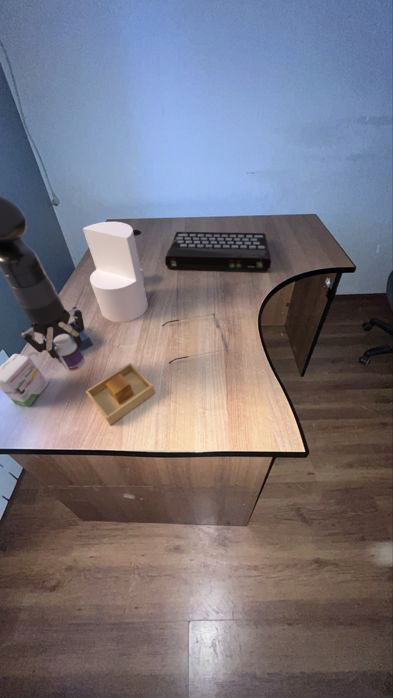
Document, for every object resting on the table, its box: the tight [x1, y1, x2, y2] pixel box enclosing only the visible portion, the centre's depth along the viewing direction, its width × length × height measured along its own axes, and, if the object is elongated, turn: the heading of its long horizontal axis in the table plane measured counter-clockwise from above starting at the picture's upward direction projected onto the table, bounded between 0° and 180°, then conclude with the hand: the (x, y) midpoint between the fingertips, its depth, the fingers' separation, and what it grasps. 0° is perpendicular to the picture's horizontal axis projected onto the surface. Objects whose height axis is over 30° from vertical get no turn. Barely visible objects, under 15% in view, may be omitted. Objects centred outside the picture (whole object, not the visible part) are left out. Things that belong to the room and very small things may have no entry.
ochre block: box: [106, 374, 134, 404], centre depth 71 cm, size 5×5×5 cm
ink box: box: [0, 353, 49, 408], centre depth 70 cm, size 8×5×12 cm, turn 164°
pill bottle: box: [53, 334, 86, 372], centre depth 69 cm, size 5×5×10 cm
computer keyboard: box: [164, 231, 272, 273], centre depth 123 cm, size 45×28×7 cm, turn 84°
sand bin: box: [85, 362, 156, 426], centre depth 72 cm, size 14×11×4 cm
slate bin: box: [41, 320, 94, 364], centre depth 86 cm, size 11×11×4 cm
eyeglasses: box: [161, 312, 229, 364], centre depth 86 cm, size 18×19×4 cm
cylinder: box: [82, 221, 149, 323], centre depth 90 cm, size 17×17×28 cm
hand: (67, 350), depth 69 cm, fingers closed on pill bottle, 5 cm apart
